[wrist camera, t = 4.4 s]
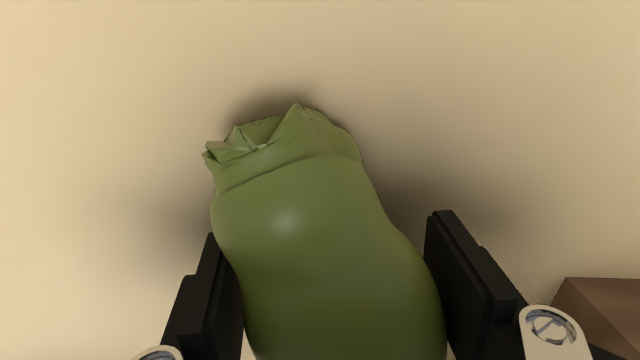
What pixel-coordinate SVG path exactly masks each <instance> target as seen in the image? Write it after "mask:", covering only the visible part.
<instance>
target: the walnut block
mask: <svg viewBox="0 0 640 360" xmlns="http://www.w3.org/2000/svg"><path fill="white" fill-rule="evenodd" d="M550 307H553V308H556V309H558V310H560V311H562V312H564V313H565V314H567V315H568V316H570V317H571V318H573V319H574V320H575V322H576V323H577V324H578V325H579V326H580V328H581V330H582V331H583V333H584V336H585V339H586V342H589V343H591V344H593V345H595V346H598V347H600V348H602V349H604V350H607V351H609V352H611V353H614V354H616V355H618V356H620V357H623V358H625V359H627V360H640V279H619V278H578V277H566V278H565V280H564V282H563V284H562V285H561V287H560V289H559V291H558V292H557V294H556V296H555V298H554V300H553V301H552V303H551V305H550Z"/></svg>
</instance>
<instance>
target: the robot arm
mask: <svg viewBox="0 0 640 360" xmlns="http://www.w3.org/2000/svg"><path fill="white" fill-rule="evenodd" d="M423 260H424V261H425V263H426V265H427V267H428V269H429V271H430V273H431V275H432V277H433V279H434V282H435V284H436V287H437V290H438V293H439V296H440V299H441V303H442V307H443V312H444V317H445V323H446V331H447V340H448V342H449V344H450V346H451V349H452V351H453V353H454V355H455V357H456V359H457V360H627V359H625V358H623V357H620V356H618V355H616V354H614V353H611V352H609V351H607V350H604V349H602V348H600V347H598V346H595V345H593V344H591V343H589V342H586V339H585V336H584V333H583V331H582V330H581V328H580V326H579V325H578V324H577V323H576V322H575V320H574V319H573V318H571V317H570V316H568V315H567V314H565V313H564V312H562V311H560V310H558V309H556V308H553V307H549V306H546V305H530V306H529V304H528V303H527V302H526V301H525V299H524V298H523V297H522V295H521V294H520V293H519V291H518V290H517V289H516V288H515V286H514V285H513V284H512V282H511V281H510V280H509V279H508V277H507V276H506V275H505V273H504V272H503V271H502V269H501V268H500V267H499V266H498V264H497V263H496V262H495V260H494V259H493V258H492V257H491V255H490V254H489V253H488V251H487V250H486V249H485V248H484V247H482V246H479V245H478V244H477V243H476V241H475V240H474V239H473V237H472V236H471V235H470V233H469V232H468V231H467V229H466V228H465V227H464V225H463V224H462V223H461V221H460V220H459V219H458V217H457V216H456V215H455V213H454V212H453V211H452V210H442V211H434V212H433V213H432V216H428V218H427V224H426V234H425V244H424V254H423ZM243 331H244V324H243V317H242V308H241V291H240V285H239V281H238V278H237V276H236V274H235V272H234V270H233V268H232V266H231V264H230V263H229V261H228V260H227V258H226V257H225V255H224V254H223V252H222V250H221V249H220V247H219V245H218V243H217V241H216V239H215V236H214V234H213V232H209V234H208V236H207V239H206V243H205V246H204V249H203V252H202V255H201V259H200V262H199V265H198V268H197V272H196V274H194V275H186V276H185V277H184V278H183V280H182V283H181V285H180V288H179V291H178V294H177V297H176V300H175V303H174V305H173V308H172V311H171V314H170V317H169V320H168V323H167V325H166V328H165V331H164V334H163V337H162V340H161V343H160V345H159V346H155V347H152V348H149V349H147V350H145V351H143V352H141V353H139V354H138V355H137V356H136V357H134V358H133V359H132V360H240V357H241V348H242V340H243Z"/></svg>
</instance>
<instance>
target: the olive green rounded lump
mask: <svg viewBox="0 0 640 360" xmlns="http://www.w3.org/2000/svg"><path fill="white" fill-rule="evenodd" d="M262 118H263V117H262ZM265 118H266V117H265ZM265 118H264V119H262V120H259V119H258V120H257V121H256V120H255V121H254V123H253V124H252V122H251V121H249V122H251V123H248V122H247V123H248V124H247V123H246V124H245V126H244V124H243V125H242V127H241V125H240V126H239V125H238V126H236V125H235V127H234V129H233V130H232V132H231V134H230V135H229V137H228V139H227V138H226V139H227V142H225V141H226V139H225V140H224V142H222V141H208V142H206V144H205V145H206V148H207V149H208V151H206V152H205V153H202V156H203V157H204V159H205V163H206V165H207V167H208V168H209V169H210V171H211V172H212V174H213V176H214V181H215V188H214V200H213V201H212V202H211V203H210V205H209V215H210V222H211V227H212V231H213V234H214V236H215V239H216V241H217V243H218V245H219V247H220V249H221V250H222V252H223V254H224V255H225V257H226V258H227V260H228V261H229V263H230V264H231V266H232V268H233V270H234V272H235V274H236V276H237V278H238V281H239V285H240V291H241V308H242V317H243V324H244V329H245V333H246V336H247V339H248V342H249V345H250V347H251V349H252V351H253V354H254V356H255V358H256V360H446V358H447V331H446V323H445V317H444V312H443V307H442V303H441V299H440V296H439V293H438V290H437V287H436V284H435V282H434V279H433V277H432V275H431V273H430V271H429V269H428V267H427V265H426V263H425V261H424V260H423V258H422V256H421V255H420V253H419V252H418V251H417V249H416V248H415V247H414V245H413V244H412V243H411V242H410V241H409V240H408V239H407V238H406V237H405V236H404V235H403V234H402V233H401V232H400V231H399V230H398V229H397V228H396V227H395V226H394V225H393V224H392V223H391V222H390V220H389V219H388V217H387V215H386V213H385V211H384V209H383V207H382V205H381V202H380V200H379V198H378V195H377V193H376V191H375V189H374V186H373V184H372V183H371V181H370V179H369V177H368V176H367V174H366V173H365V171H364V169H363V163H362V157H361V153H360V150H359V148H358V146H357V144H356V142H355V140H354V139H353V138H352V137H351V135H350V134H349V133H347V132H346V131H345V130H343V129H341V128H339V127H335V126H334V125H333V124H332V123H331V122H330V121H329V120H328V118H327V116H326V115H325V114H323V113H321V112H318V110H313V109H310V108H307V107H305V108H302V107H301V106H300V105H299V104H298V103H296V102H295V103H294V104H293V105H292V107H291V108H290V110H289V111H288V113H287V114H285V113H282V114H281V115H280V114H279V116H278V115H276V116H275V117H274V115H273V116H272V117H268V118H266V120H265ZM269 118H270V119H269ZM264 120H265V121H264ZM258 121H259V122H258ZM241 124H242V123H241ZM249 124H250V125H249ZM238 128H239V129H241V131H242V134H241V132H240V131H239V129H238ZM243 136H244V137H243Z"/></svg>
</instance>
